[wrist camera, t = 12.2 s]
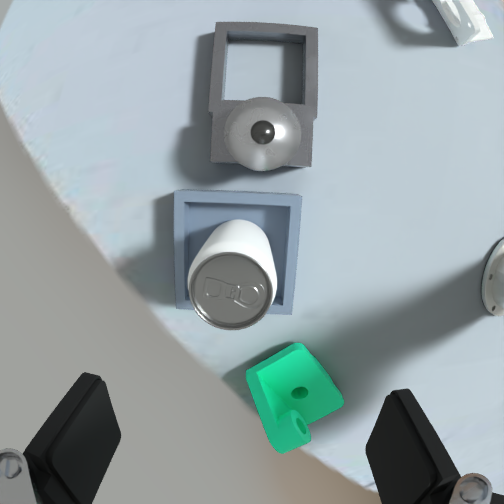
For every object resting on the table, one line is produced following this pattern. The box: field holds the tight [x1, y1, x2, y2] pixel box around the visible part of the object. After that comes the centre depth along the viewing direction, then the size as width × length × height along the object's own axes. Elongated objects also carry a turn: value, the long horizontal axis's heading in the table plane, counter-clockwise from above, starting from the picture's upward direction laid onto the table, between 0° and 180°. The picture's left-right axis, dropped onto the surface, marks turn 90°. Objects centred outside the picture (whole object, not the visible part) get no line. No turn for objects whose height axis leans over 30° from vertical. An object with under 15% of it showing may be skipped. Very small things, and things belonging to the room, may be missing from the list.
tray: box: [174, 190, 302, 315], centre depth 31 cm, size 12×12×3 cm
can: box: [188, 219, 277, 330], centre depth 26 cm, size 6×6×12 cm
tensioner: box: [208, 22, 318, 171], centre depth 25 cm, size 10×16×6 cm, turn 177°
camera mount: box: [246, 343, 344, 454], centre depth 32 cm, size 12×8×10 cm, turn 35°
